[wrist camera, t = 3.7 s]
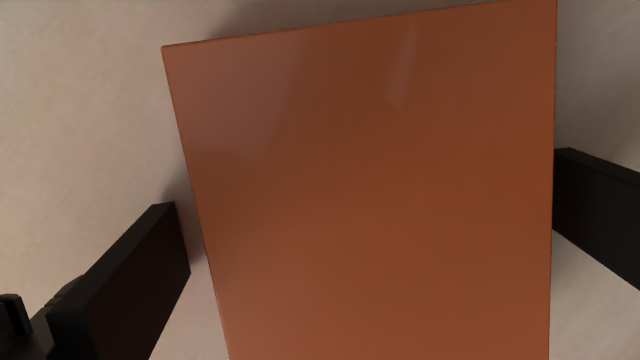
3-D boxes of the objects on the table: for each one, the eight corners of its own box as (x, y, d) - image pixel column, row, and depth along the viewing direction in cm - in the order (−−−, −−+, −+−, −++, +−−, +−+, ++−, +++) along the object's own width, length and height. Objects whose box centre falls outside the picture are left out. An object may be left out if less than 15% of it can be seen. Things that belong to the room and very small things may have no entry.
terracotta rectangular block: (198, 46, 14) (158, 46, 10) (487, 7, 14) (558, -8, 10) (263, 369, 17) (252, 462, 13) (493, 339, 17) (547, 422, 13)
